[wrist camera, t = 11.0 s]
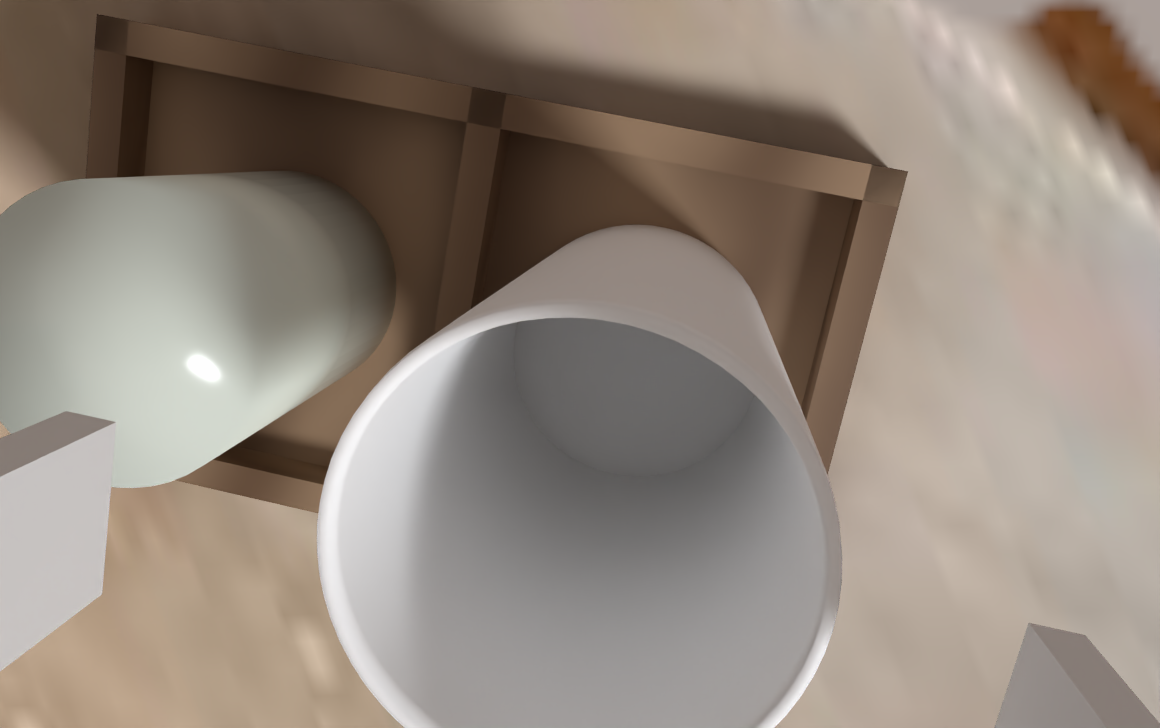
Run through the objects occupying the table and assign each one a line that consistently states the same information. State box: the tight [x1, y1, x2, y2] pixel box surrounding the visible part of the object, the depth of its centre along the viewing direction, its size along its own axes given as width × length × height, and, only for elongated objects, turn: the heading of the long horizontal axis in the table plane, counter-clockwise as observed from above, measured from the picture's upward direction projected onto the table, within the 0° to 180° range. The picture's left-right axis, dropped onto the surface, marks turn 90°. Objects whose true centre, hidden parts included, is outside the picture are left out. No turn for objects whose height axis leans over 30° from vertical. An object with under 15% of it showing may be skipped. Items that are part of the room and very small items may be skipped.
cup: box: [317, 225, 842, 728], centre depth 23 cm, size 8×8×16 cm
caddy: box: [86, 14, 908, 513], centre depth 31 cm, size 24×14×2 cm, turn 79°
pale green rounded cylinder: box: [0, 171, 396, 488], centre depth 26 cm, size 7×7×10 cm
